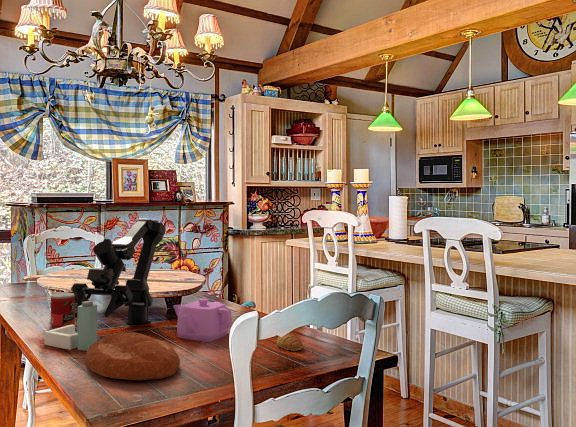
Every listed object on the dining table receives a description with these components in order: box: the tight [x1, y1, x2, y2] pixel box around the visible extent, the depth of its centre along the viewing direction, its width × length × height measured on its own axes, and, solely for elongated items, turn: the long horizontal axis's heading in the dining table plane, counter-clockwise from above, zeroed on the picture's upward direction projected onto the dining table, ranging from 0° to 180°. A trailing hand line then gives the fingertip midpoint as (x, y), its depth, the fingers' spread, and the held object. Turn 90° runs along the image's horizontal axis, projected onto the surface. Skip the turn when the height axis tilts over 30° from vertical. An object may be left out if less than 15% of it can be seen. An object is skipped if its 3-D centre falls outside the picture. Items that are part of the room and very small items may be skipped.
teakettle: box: [173, 298, 233, 343], centre depth 176 cm, size 17×17×12 cm
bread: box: [85, 331, 181, 381], centre depth 144 cm, size 23×32×9 cm
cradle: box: [44, 324, 78, 350], centre depth 166 cm, size 10×11×4 cm
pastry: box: [275, 333, 304, 352], centre depth 164 cm, size 9×7×4 cm
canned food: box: [50, 292, 76, 329], centre depth 187 cm, size 8×8×11 cm
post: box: [77, 300, 98, 352], centre depth 160 cm, size 4×4×14 cm
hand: (91, 315), depth 162 cm, fingers open, 9 cm apart
